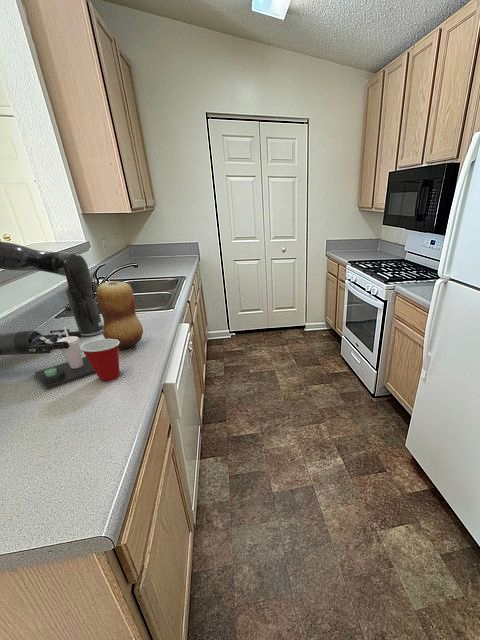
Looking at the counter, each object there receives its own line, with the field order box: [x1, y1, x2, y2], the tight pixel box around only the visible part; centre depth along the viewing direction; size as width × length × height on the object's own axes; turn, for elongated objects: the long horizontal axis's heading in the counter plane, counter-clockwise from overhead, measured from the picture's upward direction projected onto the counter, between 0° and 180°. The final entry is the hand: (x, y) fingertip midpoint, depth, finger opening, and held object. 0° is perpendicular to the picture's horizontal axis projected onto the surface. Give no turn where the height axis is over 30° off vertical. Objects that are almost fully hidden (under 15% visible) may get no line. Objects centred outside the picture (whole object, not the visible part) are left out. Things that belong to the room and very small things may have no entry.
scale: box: [34, 356, 96, 391], centre depth 110 cm, size 14×16×3 cm
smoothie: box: [57, 326, 83, 368], centre depth 109 cm, size 6×6×14 cm
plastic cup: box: [80, 338, 121, 382], centre depth 105 cm, size 11×11×12 cm
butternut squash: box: [96, 280, 144, 350], centre depth 124 cm, size 14×13×25 cm
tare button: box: [44, 368, 58, 377], centre depth 104 cm, size 3×3×2 cm
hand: (74, 339), depth 109 cm, fingers open, 8 cm apart
